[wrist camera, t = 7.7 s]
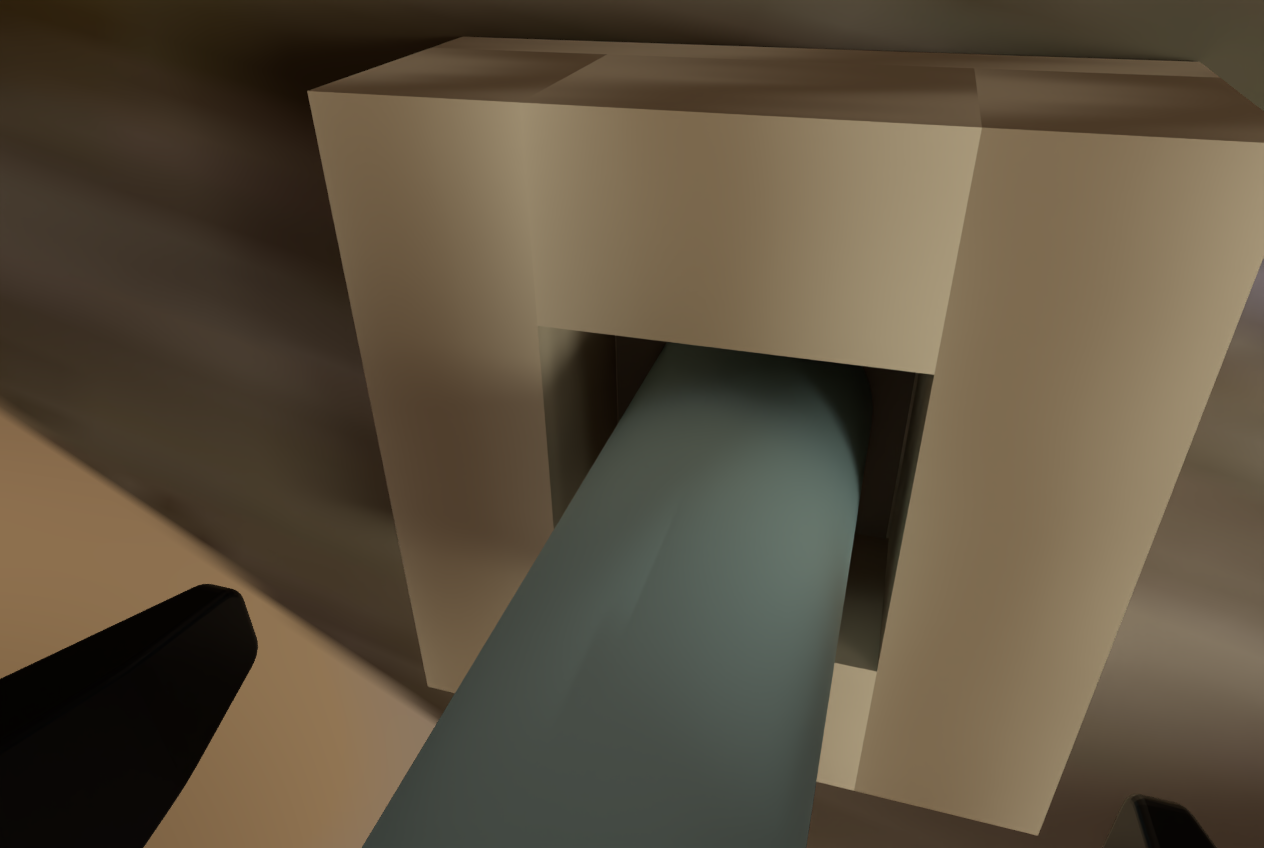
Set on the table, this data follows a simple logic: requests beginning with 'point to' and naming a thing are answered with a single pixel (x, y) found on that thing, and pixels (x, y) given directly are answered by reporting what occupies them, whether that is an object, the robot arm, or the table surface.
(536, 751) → the pin
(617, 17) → the table surface
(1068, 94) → the jig block
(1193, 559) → the table surface
